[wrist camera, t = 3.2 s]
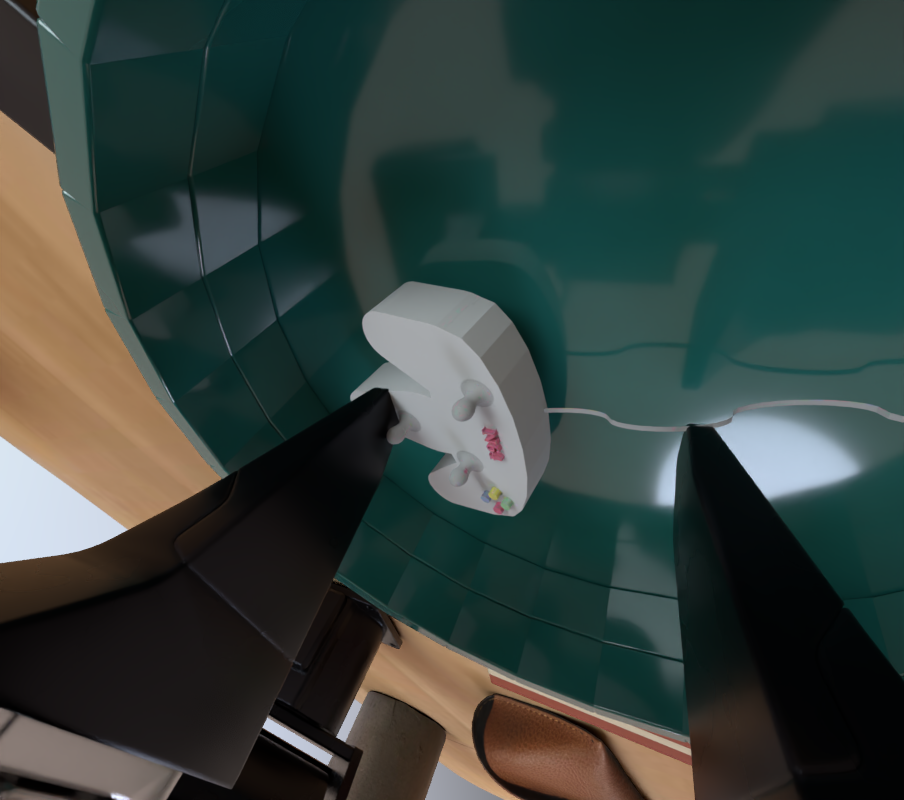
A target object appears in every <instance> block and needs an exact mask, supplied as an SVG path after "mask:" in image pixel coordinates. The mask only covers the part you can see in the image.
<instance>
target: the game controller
mask: <svg viewBox="0 0 904 800" xmlns="http://www.w3.org/2000/svg"><path fill="white" fill-rule="evenodd" d="M362 326H363V331H364V334H365V336H366V338H367V340H368V342H369V343H370V345H371V346H372V347H373V348H374V349H375V350H376V351H377V352H378V353H379V354H380V355H381V356H382V357H384V358H385V359H386V360H388V361H389V362H387V363H384V364H383V365H382V366H381V367H379V368H378V369H377V370H376V371H375V372H374V373H373V374H372V375H371V376H370V377H369V378H368V379H367V380H365V381H364V382H363V383H362V384H361V385H360V386H359V387H358V388H357V389H356V390H355V391H354V392H353V393H352V394H351V396H350V400H351V401H352V400H354V399H356V398H357V397H359V396H361V395H362V394H364V393H366V392H367V391H369V390H371V389H373V388H375V387H379V388H388V389H389V393H390V396H391V399H392V402H393V405H394V408H395V410H396V413H397V416H398V419H399V423H398V424H397V425H396V426H394V427H392V428H390V429H389V431H388V432H387V440H388V442H389V443H391V444H399V443H401V442H402V441H403V440H404V438H405V437H406V438H408V439H410V440H412V441H415V442H417V443H419V444H422V445H424V446H426V447H429V448H431V449H434V450H437V451H440V452H444V453H446V454H445V455H444V456H443V457H442V459H441V460H440V461H439V463H438V464H437V465H436V466H435V468H434V469H433V470H432V471H431V473H430V474H429V476H428V479H429V482H430V484H431V486H432V487H433V488H434V490H435V491H436V492H437V493H438V494H439V495H441V496H442V497H443V498H445V499H446V500H448V501H450V502H452V503H455V504H459V505H462V506H466V507H469V508H473V509H476V510H480V511H483V512H487V513H491V514H495V515H504V516H515V515H516V514H518V513H519V512H521V511H522V510H523V508H524V506H525V504H526V503H527V501H528V499H529V497H530V496H531V494H532V492H533V490H534V489H535V487H536V485H537V484H538V482H539V480H540V478H541V477H542V475H543V473H544V471H545V468H546V466H547V463H548V461H549V455H550V443H551V434H550V424H549V414H548V413H553V412H569V413H584V414H592V415H597V416H601V417H603V418H606V419H607V420H608V421H609V422H610V423H611V424H612V425H615V426H617V427H621V428H626V429H632V430H640V431H655V432H678V431H686V429H687V428H688V427H689V426H681V427H652V426H638V425H630V424H624V423H620V422H616V421H614V420H611V419H610V418H609V417H608V416H607V415H606V414H605V413H602V412H599V411H594V410H588V409H578V408H547V404H546V400H545V396H544V392H543V388H542V384H541V380H540V378H539V375H538V372H537V370H536V367H535V365H534V362H533V360H532V357H531V355H530V352H529V350H528V348H527V346H526V344H525V343H524V341H523V339H522V337H521V336H520V334H519V332H518V331H517V329H516V327H515V325H514V324H513V322H512V321H511V320H510V319H509V317H508V316H507V315H506V314H505V313H504V312H503V311H502V310H501V309H500V308H499V307H498V306H497V304H496V303H494V302H492V301H489V300H487V299H485V298H482V297H480V296H478V295H476V294H474V293H471V292H468V291H464V290H459V289H453V288H448V287H442V286H436V285H431V284H425V283H419V282H414V281H412V282H406V283H405V284H403V285H402V286H401V287H399V288H398V289H397V290H395V291H394V292H393V293H392V294H390V295H389V296H388V297H387V298H385V299H384V300H383V301H382V302H380V303H379V304H378V305H377V306H375V307H374V308H373V309H372V310H370V311H369V312H368V313H366V314H365V316H364V318H363V321H362ZM788 405H828V406H843V407H853V408H859V409H866V410H869V411H873V412H876V413H878V414H880V415H882V416H884V417H886V418H888V419H891V420H895V421H899V422H904V416H900V415H896V414H892V413H890V412H888V411H886V410H884V409H882V408H880V407H878V406H874V405H870V404H866V403H859V402H851V401H838V400H784V401H772V402H762V403H756V404H750V405H746V406H742V407H739V408H737V409H735V410H734V411H733V415H735V414H736V413H738V412H742V411H745V410H750V409H756V408H763V407H772V406H788ZM732 418H733V417H731V418H729V419H728V420H725V421H721V422H718V423H712V424H706V425H696V426H712V427H713V428H717V427H721V426H724V425H727V424H729V423H731V422H732Z"/></svg>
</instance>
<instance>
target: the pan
mask: <svg viewBox="0 0 904 800" xmlns="http://www.w3.org/2000/svg"><path fill="white" fill-rule="evenodd" d="M36 11H37V14H38V16H39V18H38V19H37V22H36V23H37V30H38V37H39V44H40V51H41V58H42V65H43V72H44V79H45V86H46V93H47V100H48V107H49V114H50V121H51V128H52V135H53V142H54V149H55V156H56V163H57V170H58V177H59V184H60V186H61V188H62V189H63V190H62V195H63V198H64V200H65V203H66V206H67V208H68V211H69V214H70V217H71V219H72V222H73V225H74V227H75V230H76V233H77V236H78V238H79V241H80V244H81V246H82V249H83V252H84V255H85V257H86V260H87V263H88V265H89V268H90V271H91V274H92V276H93V279H94V282H95V284H96V287H97V290H98V293H99V295H100V298H101V301H102V303H103V306H104V307H105V311H106V313H107V315H108V316H109V318H110V320H111V322H112V323H113V325H114V327H115V329H116V330H117V332H118V334H119V335H120V337H121V339H122V341H123V342H124V344H125V346H126V348H127V349H128V351H129V353H130V354H131V356H132V358H133V360H134V361H135V363H136V365H137V367H138V368H139V370H140V372H141V374H142V375H143V377H144V379H145V380H146V382H147V384H148V386H149V387H150V389H151V391H152V393H153V394H154V396H156V399H157V400H158V401H159V403H160V404H161V405H162V406H163V408H164V409H165V410H166V411H167V413H168V414H169V415H170V417H171V418H172V419H173V420H174V422H175V423H176V424H177V426H178V427H179V428H180V429H181V431H182V432H183V433H184V435H185V436H186V437H187V438H188V440H189V441H190V442H191V443H192V445H193V446H194V447H195V449H196V450H197V451H198V452H199V454H200V455H201V456H202V458H203V459H204V460H205V461H206V463H207V464H208V465H210V467H211V468H212V469H213V470H214V471H215V472H216V473H217V474H218V475H219V476H220V477H221V478H222V479H223V478H225V477H226V476H228V475H230V474H231V473H233V472H234V471H238V470H239V469H240V468H241V467H243V466H245V465H246V464H248V463H250V462H251V461H253V460H255V459H256V458H258V457H259V456H261V455H263V454H264V453H266V452H268V451H269V450H271V449H273V448H274V447H276V446H278V445H279V444H281V443H283V442H284V441H286V440H288V439H289V438H291V437H293V436H294V435H296V434H298V433H299V432H301V431H303V430H304V429H306V428H308V427H309V426H311V425H313V424H314V423H316V422H318V421H319V420H321V419H323V418H324V417H326V416H328V415H329V414H331V413H333V412H334V411H336V410H338V409H339V408H341V407H343V406H344V405H346V404H348V403H349V402H351V400H350V396H351V394H352V393H353V392H354V391H355V390H356V389H357V388H358V387H359V386H360V385H361V384H362V383H363V382H364V381H365V380H367V379H368V378H369V377H370V376H371V375H372V374H373V373H374V372H375V371H376V370H377V369H378V368H379V367H381V366H382V365H383V364H384V363H387V362H389V361H388V360H386V359H385V358H384V357H382V356H381V355H380V354H379V353H378V352H377V351H376V350H375V349H374V348H373V347H372V346H371V345H370V343H369V342H368V340H367V338H366V336H365V334H364V331H363V326H362V321H363V318H364V316H365V314H366V313H368V312H369V311H370V310H372V309H373V308H374V307H375V306H377V305H378V304H379V303H380V302H382V301H383V300H384V299H385V298H387V297H388V296H389V295H390V294H392V293H393V292H394V291H395V290H397V289H398V288H399V287H401V286H402V285H403V284H405V283H406V282H412V281H414V282H419V283H425V284H431V285H436V286H442V287H448V288H453V289H459V290H464V291H468V292H471V293H474V294H476V295H478V296H480V297H482V298H485V299H487V300H489V301H492V302H494V303H496V304H497V306H498V307H499V308H500V309H501V310H502V311H503V312H504V313H505V314H506V315H507V316H508V317H509V319H510V320H511V321H512V322H513V324H514V325H515V327H516V329H517V331H518V332H519V334H520V336H521V337H522V339H523V341H524V343H525V344H526V346H527V348H528V350H529V352H530V355H531V357H532V360H533V362H534V365H535V367H536V370H537V372H538V375H539V378H540V380H541V384H542V388H543V392H544V396H545V400H546V404H547V408H578V409H588V410H594V411H599V412H602V413H605V414H606V415H607V416H608V417H609V418H610V419H611V420H614V421H616V422H620V423H624V424H630V425H638V426H652V427H681V426H686V425H687V424H690V423H692V424H701V425H706V424H712V423H718V422H721V421H725V420H728V419H729V418H731V417H733V418H732V422H731V423H729V424H727V425H724V426H721V427H717V428H715V430H716V431H717V432H718V434H719V435H720V436H721V438H722V439H723V440H724V442H725V443H726V444H727V446H728V447H729V448H730V450H731V451H732V452H733V454H734V455H735V457H736V458H737V459H738V461H739V462H740V463H741V465H742V466H743V467H744V469H745V470H746V471H747V473H748V474H749V475H750V477H751V478H752V479H753V481H754V482H755V483H756V485H757V486H758V487H759V489H760V490H761V491H762V493H763V494H764V496H765V497H766V498H767V500H768V501H769V502H770V504H771V505H772V506H773V508H774V509H775V510H776V512H777V513H778V514H779V516H780V517H781V518H782V520H783V521H784V522H785V524H786V525H787V526H788V528H789V529H790V530H791V532H792V533H793V534H794V536H795V537H796V539H797V540H798V541H799V543H800V544H801V545H802V547H803V548H804V549H805V551H806V552H807V553H808V555H809V556H810V557H811V559H812V560H813V561H814V563H815V564H816V565H817V567H818V568H819V569H820V571H821V572H822V573H823V575H824V576H825V577H826V579H827V580H828V582H829V583H830V584H831V586H832V587H833V588H834V590H835V591H836V592H837V594H838V595H839V596H840V598H841V599H842V600H843V602H844V606H843V608H844V607H845V608H848V609H850V611H851V612H852V613H853V615H854V616H855V618H856V619H857V620H858V622H859V623H860V624H861V626H862V627H863V628H864V630H865V631H866V632H867V634H868V635H869V636H870V638H871V639H872V640H873V641H874V643H875V644H876V645H877V647H878V648H879V649H880V650H881V652H882V653H883V654H884V656H885V657H886V658H887V659H888V661H889V662H890V663H891V665H892V666H893V667H894V668H895V670H896V671H897V672H898V674H899V675H900V676H901V677H902V679H903V680H904V422H899V421H895V420H891V419H888V418H886V417H884V416H882V415H880V414H878V413H876V412H873V411H869V410H866V409H859V408H853V407H843V406H828V405H788V406H772V407H763V408H756V409H750V410H745V411H742V412H738V413H736V414H735V415H733V411H734V410H735V409H737V408H739V407H742V406H746V405H750V404H756V403H762V402H772V401H784V400H838V401H851V402H859V403H866V404H870V405H874V406H878V407H880V408H882V409H884V410H886V411H888V412H890V413H892V414H896V415H900V416H904V0H37V4H36ZM548 414H549V424H550V434H551V443H550V455H549V461H548V463H547V466H546V468H545V471H544V473H543V475H542V477H541V478H540V480H539V482H538V484H537V485H536V487H535V489H534V490H533V492H532V494H531V496H530V497H529V499H528V501H527V503H526V504H525V506H524V508H523V510H522V511H521V512H519V513H518V514H516V515H515V516H504V515H495V514H491V513H487V512H483V511H480V510H476V509H473V508H469V507H466V506H462V505H459V504H455V503H452V502H450V501H448V500H446V499H445V498H443V497H442V496H441V495H439V494H438V493H437V492H436V491H435V490H434V488H433V487H432V486H431V484H430V482H429V479H428V476H429V474H430V473H431V471H432V470H433V469H434V468H435V466H436V465H437V464H438V463H439V461H440V460H441V459H442V457H443V456H444V455H445V454H446V453H444V452H440V451H437V450H434V449H431V448H429V447H426V446H424V445H422V444H419V443H417V442H415V441H412V440H410V439H408V438H406V437H405V438H404V440H403V441H402V442H401V443H399V444H393V447H392V450H391V453H390V456H389V459H388V462H387V464H386V467H385V470H384V473H383V475H382V478H381V481H380V483H379V485H378V487H377V489H376V491H375V494H374V496H373V498H372V500H371V502H370V504H369V506H368V508H367V510H366V512H365V514H364V516H363V519H362V521H361V523H360V525H359V527H358V529H357V531H356V533H355V535H354V537H353V539H352V541H351V543H350V546H349V548H348V550H347V552H346V554H345V556H344V558H343V560H342V562H341V564H340V566H339V568H338V571H337V573H336V575H335V577H334V578H335V579H337V580H338V581H340V582H341V583H342V584H344V585H345V586H347V587H348V588H350V589H351V590H353V591H354V592H355V593H357V594H358V595H360V596H361V597H363V598H364V599H366V600H367V601H368V602H370V603H371V604H373V605H374V606H376V607H377V608H379V609H381V610H382V611H383V612H385V613H387V614H389V615H390V616H392V617H394V618H395V619H397V620H399V621H401V622H402V623H404V624H406V625H407V626H409V627H411V628H413V629H414V630H416V631H418V632H420V633H421V634H423V635H425V636H426V637H428V638H430V639H432V640H433V641H435V642H437V643H438V644H440V645H442V646H445V647H446V648H448V649H450V650H452V651H454V652H456V653H458V654H460V655H462V656H464V657H466V658H468V659H470V660H472V661H474V662H476V663H479V664H481V665H483V666H485V667H487V668H489V669H491V670H493V671H495V672H497V673H499V674H501V675H503V676H505V677H507V678H509V679H511V680H515V681H516V682H518V683H520V684H523V685H525V686H528V687H530V688H533V689H535V690H538V691H540V692H543V693H545V694H548V695H550V696H552V697H555V698H557V699H560V700H562V701H565V702H567V703H570V704H572V705H575V706H577V707H580V708H582V709H585V710H587V711H590V712H592V713H594V712H595V713H596V714H598V715H601V716H604V717H607V718H610V719H614V720H617V721H620V722H623V723H626V724H629V725H632V726H635V727H638V728H641V729H644V730H647V731H651V732H654V733H657V734H660V735H663V736H666V737H669V738H672V739H675V740H678V741H681V742H684V743H685V742H688V743H689V744H690V735H689V723H688V712H687V700H686V688H685V677H684V665H683V654H682V642H681V631H680V619H679V608H678V596H677V585H676V573H675V562H674V549H673V521H674V502H675V483H676V465H677V457H678V452H679V448H680V445H681V441H682V437H683V433H684V431H678V432H655V431H640V430H632V429H626V428H621V427H617V426H615V425H612V424H611V423H610V422H609V421H608V420H607V419H606V418H603V417H601V416H597V415H592V414H584V413H569V412H553V413H548Z"/></svg>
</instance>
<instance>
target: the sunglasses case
mask: <svg viewBox="0 0 904 800" xmlns="http://www.w3.org/2000/svg"><path fill="white" fill-rule="evenodd" d="M472 737H473V743H474V747H475V750H476V752H477V756H478V759H479V761H480V762H481V764H482V765H483V767H484V769H485V770H486V771H487V773H488V774H489V775H490V777H491V778H492V779H493V780H494V781H495V782H496V783H497V784H498V785H499V786H501V787H502V788H503V789H505V790H506V791H507V792H508V793H510V794H512V795H513V796H515V797H516V798H518V799H520V800H644V799H643V798H642V796H641V795H640V794H639V792H638V791H637V790H636V788H635V787H634V785H633V784H632V782H631V781H630V780H629V778H628V777H627V775H626V774H625V772H624V770H623V769H622V767H621V765H620V764H619V762H618V761H617V759H616V758H615V756H614V755H613V754H612V752H611V751H610V750H609V748H608V747H607V746H606V745H605V744H604V743H603V742H602V740H600V739H598V738H597V737H595V736H594V735H593V734H591V733H590V732H588V731H587V730H586V729H583V728H581V727H579V726H577V725H575V724H573V723H571V722H569V721H567V720H565V719H564V718H562V717H560V716H558V715H556V714H553V713H551V712H549V711H547V710H544V709H541V708H538V707H536V706H533V705H530V704H526V703H523V702H520V701H517V700H514V699H512V698H509V697H505V696H501V695H499V694H493V695H491V696H488V697H486V698H485V699H483V700H482V701H481V702H480V704H478V706H477V708H476V710H475V712H474V717H473V721H472Z"/></svg>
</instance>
